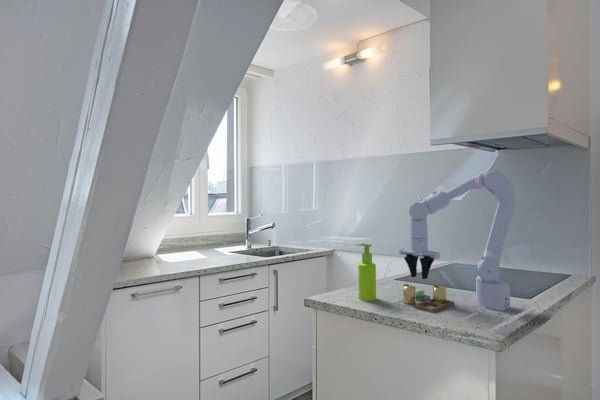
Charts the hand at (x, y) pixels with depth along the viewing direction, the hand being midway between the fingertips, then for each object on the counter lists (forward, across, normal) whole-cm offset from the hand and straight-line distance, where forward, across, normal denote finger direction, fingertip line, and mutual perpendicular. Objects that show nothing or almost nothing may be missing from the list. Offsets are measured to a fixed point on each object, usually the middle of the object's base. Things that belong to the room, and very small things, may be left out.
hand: (419, 277), depth 134 cm
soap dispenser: (+9, +13, +12) cm, 20 cm away
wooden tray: (+8, -8, +5) cm, 13 cm away
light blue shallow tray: (+8, -1, +7) cm, 11 cm away
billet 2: (+8, -8, +2) cm, 12 cm away
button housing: (+8, 0, 0) cm, 8 cm away
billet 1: (+8, -1, +7) cm, 11 cm away
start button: (+7, 0, 0) cm, 7 cm away
